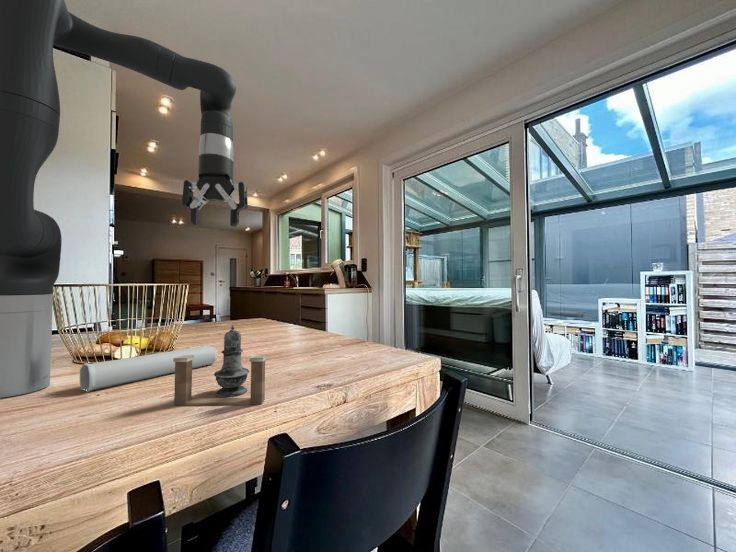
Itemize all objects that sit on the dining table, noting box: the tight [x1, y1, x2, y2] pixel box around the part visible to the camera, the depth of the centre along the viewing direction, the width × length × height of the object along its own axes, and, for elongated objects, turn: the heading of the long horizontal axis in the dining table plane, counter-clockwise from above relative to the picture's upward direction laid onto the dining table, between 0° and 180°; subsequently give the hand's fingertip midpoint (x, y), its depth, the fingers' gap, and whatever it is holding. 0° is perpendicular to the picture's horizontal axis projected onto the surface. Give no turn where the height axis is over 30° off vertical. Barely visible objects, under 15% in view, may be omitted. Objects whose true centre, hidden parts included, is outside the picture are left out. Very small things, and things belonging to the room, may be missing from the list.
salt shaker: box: [213, 325, 250, 398], centre depth 57 cm, size 6×6×12 cm
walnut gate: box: [173, 354, 268, 406], centre depth 52 cm, size 14×2×8 cm, turn 93°
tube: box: [79, 345, 219, 393], centre depth 67 cm, size 5×5×25 cm
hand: (215, 226), depth 75 cm, fingers open, 8 cm apart
